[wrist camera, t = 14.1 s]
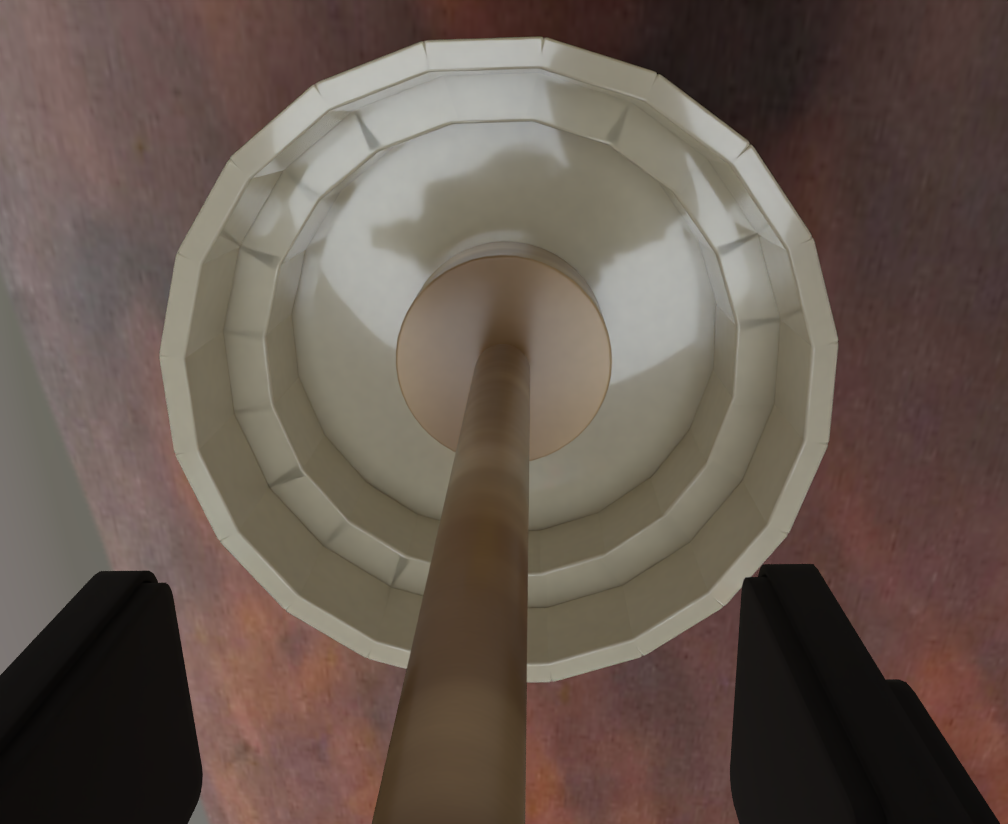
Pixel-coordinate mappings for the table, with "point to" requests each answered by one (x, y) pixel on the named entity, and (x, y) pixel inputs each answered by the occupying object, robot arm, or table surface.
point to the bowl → (397, 281)
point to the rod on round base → (485, 516)
